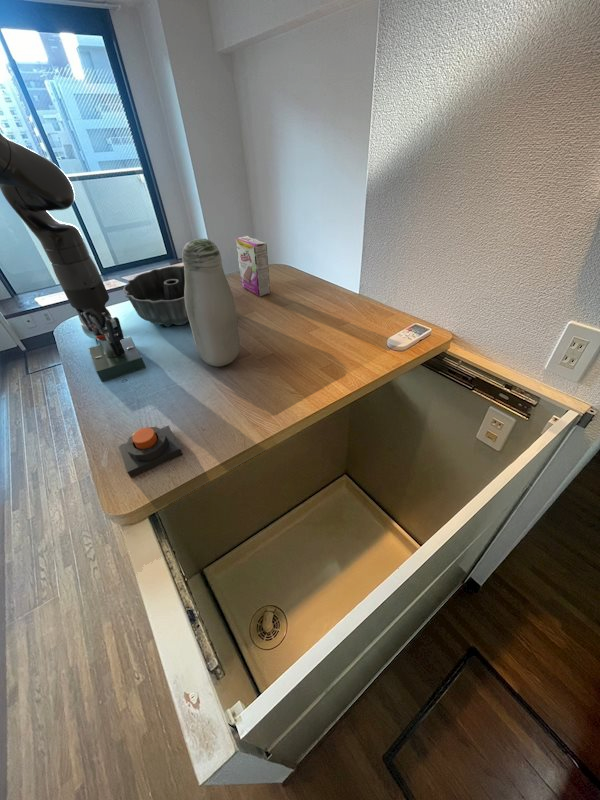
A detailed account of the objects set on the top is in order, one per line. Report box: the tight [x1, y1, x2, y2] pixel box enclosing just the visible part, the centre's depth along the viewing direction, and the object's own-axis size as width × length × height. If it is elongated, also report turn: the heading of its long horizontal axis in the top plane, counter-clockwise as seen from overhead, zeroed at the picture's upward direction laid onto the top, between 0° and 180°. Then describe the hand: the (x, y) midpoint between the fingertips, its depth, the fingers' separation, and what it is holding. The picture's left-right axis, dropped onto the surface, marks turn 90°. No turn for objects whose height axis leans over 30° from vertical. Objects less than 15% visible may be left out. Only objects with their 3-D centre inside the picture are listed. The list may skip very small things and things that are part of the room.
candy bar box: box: [235, 235, 271, 298], centre depth 108 cm, size 11×5×16 cm, turn 40°
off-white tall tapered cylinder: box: [181, 238, 241, 368], centre depth 72 cm, size 10×10×28 cm
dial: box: [96, 333, 123, 358], centre depth 77 cm, size 4×4×5 cm
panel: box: [87, 336, 147, 383], centre depth 80 cm, size 12×10×3 cm
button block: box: [118, 425, 183, 479], centre depth 58 cm, size 9×7×4 cm
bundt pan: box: [122, 265, 189, 327], centre depth 98 cm, size 26×26×10 cm
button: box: [132, 427, 157, 449], centre depth 56 cm, size 4×4×2 cm
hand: (113, 350), depth 79 cm, fingers closed on dial, 4 cm apart
